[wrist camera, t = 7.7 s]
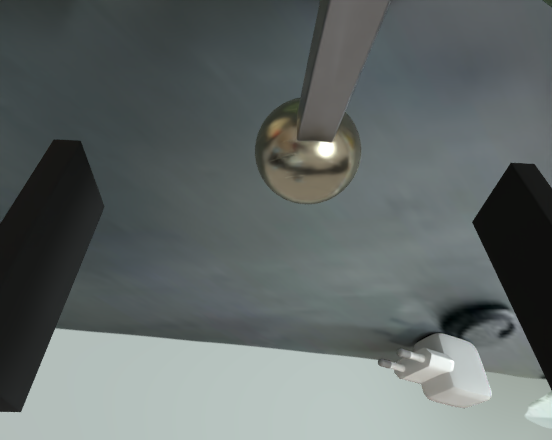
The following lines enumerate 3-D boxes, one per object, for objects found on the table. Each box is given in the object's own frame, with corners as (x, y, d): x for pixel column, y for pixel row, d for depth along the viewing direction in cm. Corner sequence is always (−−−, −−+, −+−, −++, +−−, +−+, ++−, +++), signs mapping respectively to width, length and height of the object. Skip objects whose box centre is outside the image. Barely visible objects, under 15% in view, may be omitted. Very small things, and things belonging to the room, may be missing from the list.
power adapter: (365, 332, 39) (375, 393, 35) (399, 312, 36) (413, 375, 32) (444, 356, 43) (461, 413, 39) (481, 339, 40) (503, 399, 36)
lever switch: (346, 134, 16) (347, 219, 15) (257, 128, 16) (252, 214, 14) (739, -704, 3) (951, -510, 2) (278, -783, 3) (252, -614, 2)
